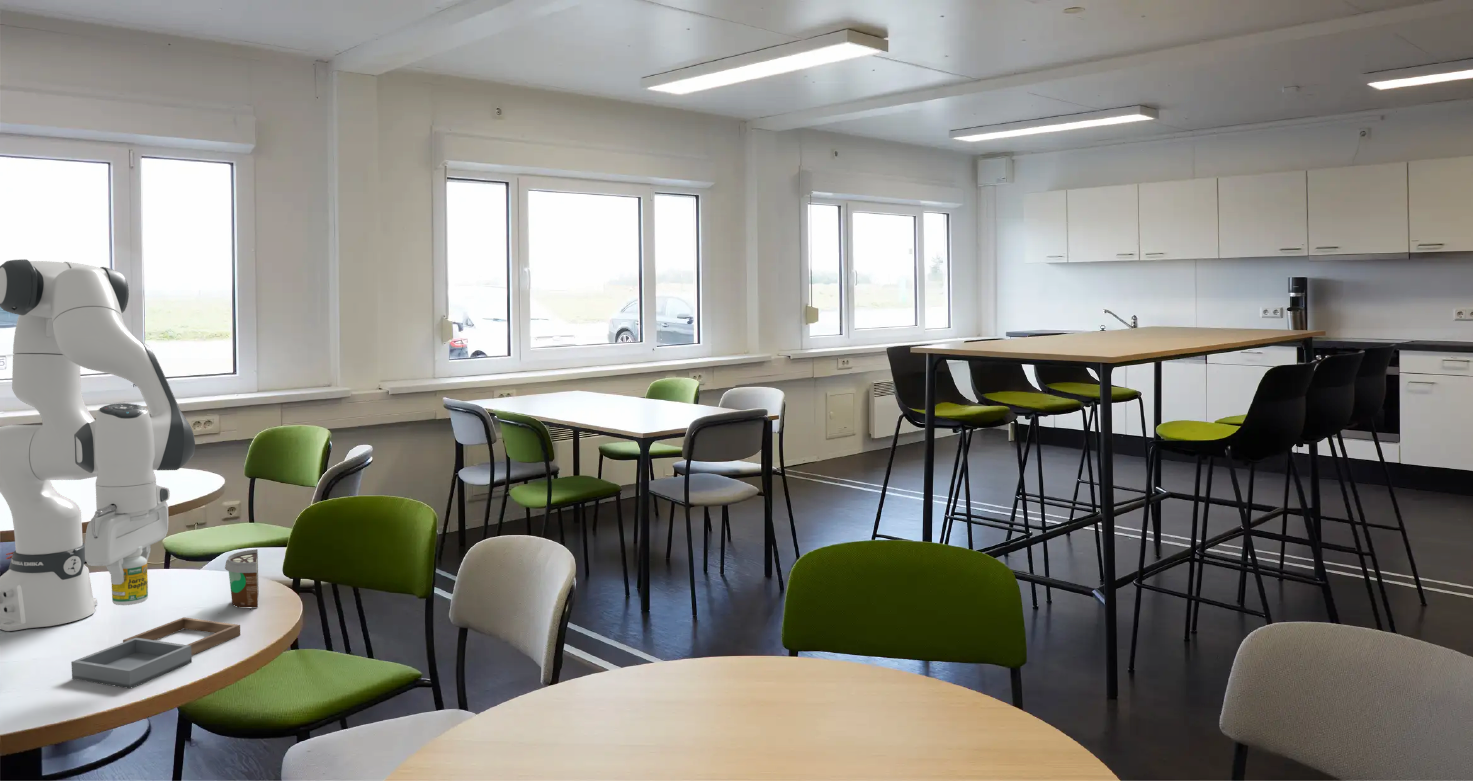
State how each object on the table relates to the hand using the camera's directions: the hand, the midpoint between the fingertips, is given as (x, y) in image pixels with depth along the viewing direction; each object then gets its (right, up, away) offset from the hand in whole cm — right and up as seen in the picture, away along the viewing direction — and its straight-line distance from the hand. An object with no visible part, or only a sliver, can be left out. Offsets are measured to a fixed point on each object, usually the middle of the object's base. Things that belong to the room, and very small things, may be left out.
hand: (129, 577), depth 169 cm
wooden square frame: (+1, -15, +15) cm, 22 cm away
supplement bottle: (0, -4, 0) cm, 4 cm away
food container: (0, -13, +39) cm, 42 cm away
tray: (0, -16, +2) cm, 17 cm away
